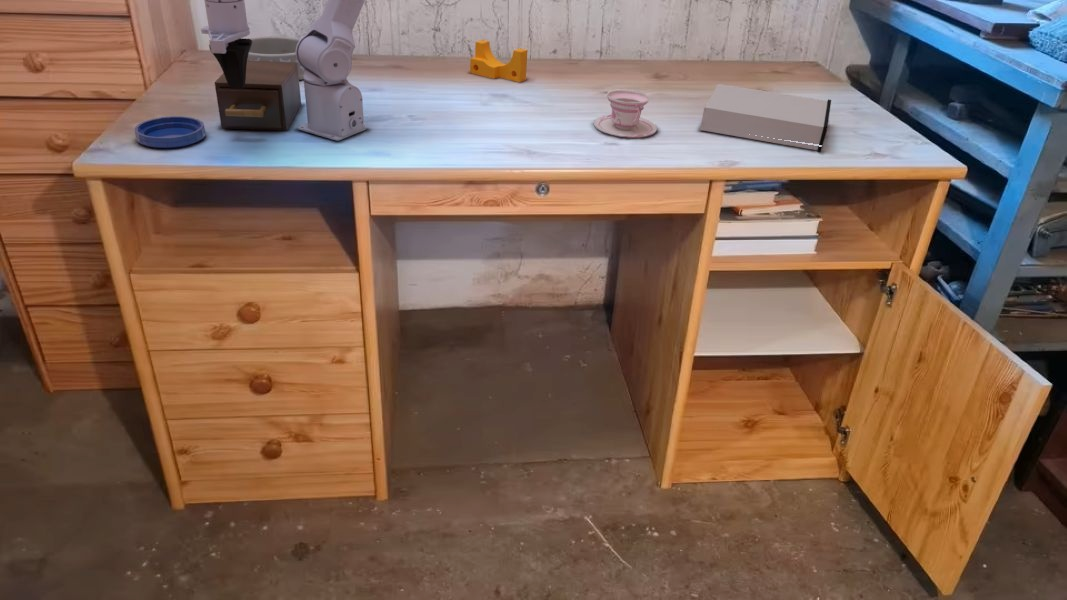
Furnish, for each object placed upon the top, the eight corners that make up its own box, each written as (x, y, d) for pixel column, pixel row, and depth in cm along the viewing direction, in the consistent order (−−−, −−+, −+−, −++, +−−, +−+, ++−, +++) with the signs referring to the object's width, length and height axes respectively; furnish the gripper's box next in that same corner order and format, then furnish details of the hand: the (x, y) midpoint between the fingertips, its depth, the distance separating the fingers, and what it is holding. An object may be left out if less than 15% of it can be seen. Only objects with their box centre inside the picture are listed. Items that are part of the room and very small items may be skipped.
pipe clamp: (470, 72, 174) (470, 43, 171) (481, 69, 177) (482, 39, 174) (514, 84, 169) (516, 53, 165) (525, 79, 172) (527, 50, 169)
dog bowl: (280, 54, 177) (278, 30, 175) (336, 71, 169) (334, 46, 166) (215, 68, 165) (211, 43, 162) (271, 88, 157) (268, 60, 154)
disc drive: (821, 152, 143) (828, 126, 141) (699, 131, 149) (704, 105, 147) (825, 124, 158) (832, 100, 155) (714, 106, 164) (718, 82, 161)
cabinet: (286, 130, 137) (281, 84, 133) (221, 128, 136) (214, 82, 132) (301, 105, 149) (297, 62, 145) (241, 102, 148) (235, 59, 144)
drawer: (276, 135, 132) (272, 98, 129) (216, 133, 131) (210, 96, 128) (295, 104, 147) (291, 70, 143) (241, 102, 146) (236, 68, 142)
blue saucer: (219, 136, 133) (217, 125, 132) (166, 154, 125) (164, 142, 124) (176, 123, 137) (174, 112, 136) (122, 140, 129) (120, 128, 128)
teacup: (583, 120, 151) (586, 88, 148) (636, 115, 155) (640, 84, 152) (612, 141, 142) (616, 108, 139) (668, 135, 146) (673, 103, 143)
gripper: (210, -12, 124) (223, 73, 132) (182, 7, 112) (198, 100, 119) (255, -10, 125) (266, 75, 132) (232, 10, 113) (246, 102, 120)
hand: (237, 87), depth 126 cm, fingers closed
